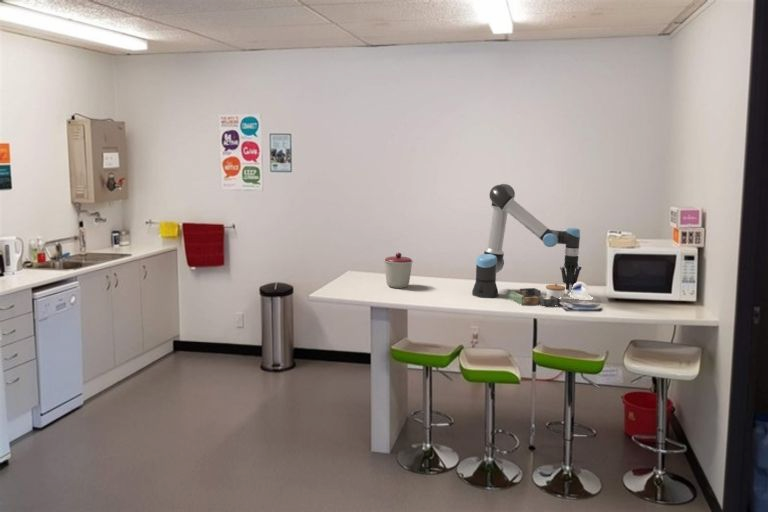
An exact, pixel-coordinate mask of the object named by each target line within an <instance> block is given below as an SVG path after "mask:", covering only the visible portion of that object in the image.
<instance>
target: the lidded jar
mask: <svg viewBox="0 0 768 512" xmlns="http://www.w3.org/2000/svg"><path fill="white" fill-rule="evenodd" d="M565 291H566V286H564V285H561V284H560V285H559V284H557V283H554V284H548V285H546V286H545V295H546V297H547V299H550V296H554V297H556V298H560V297H563V298H564V296H565Z"/></svg>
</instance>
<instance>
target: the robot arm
mask: <svg viewBox="0 0 768 512" xmlns="http://www.w3.org/2000/svg"><path fill="white" fill-rule="evenodd" d="M515 192H516V191H515V190H514V188H513V187H512V186H511V185H510V184H507V183H501V184H497V185H494V186H493V187H492V188H490V190H489V200H490V201H491V207H492V209H493V211H492V215H491V224H490V229H489V236H488V242H487V243H488V244H487V248H485V249H484V253H483V254H479V255H478V256H477V257H476V261H475V263H476V265H475V266H476V268H475V283H474V285H473V288H472V291H471V295H472V296H475V297H476V298H477V297H479V298H485V297H488V298H490V297H491V298H496V297H499V291H498V285H497V282H496V281H497V274H498V273H499V272H500V271H502V269H503V267H504V265H505V260H504V255H505V252H504V251H503V244H504V238H505V232H506V224H507V220H508V214H509V215H510V216H512V217H513V219H515V220H517V221H518V223H520V224H521V225H523V226H524V227H525V228H526V229H527V230H529V231H530V233H531V234H533V235H535V236H536V237H537V238H538V239H539V240H540V241H542V243H543V244H544V246H545V247H547V248H552V247H555V246H556V245H557V244H558V245H565V249H564V250H565V251H564V254H565V255H564V262H563V263H564V264H563V266H560V267H559V269H560V272H561V276H562V277H561V278H562V283H563V284H565V291H566V295H567V294H569V293H570V292H571V290H572V287H573V288H574V286H575V284H577V283H578V279H579V276H580V271H581V270H582V267H581V266H579V264H578V262H579V252H580V251H579V250H580V240H581V239H580V238H581V230H580V229H579V228H577V227H566V230H565V231H564V230H553V229H551V228H550V229H549V228H548V227H547V226H546V225H545V224H544V223H542V222H541V220H539V219H537V218H536V217H535V216H534V215H533V214H532V213H530V212H529V211H528V210H526V209H525V207H523V206H522V205H520V204H519V203H518V202H517V201H516V200H515V196H516V195H515V194H516V193H515ZM571 293H572V292H571Z"/></svg>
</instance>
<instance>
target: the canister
mask: <svg viewBox="0 0 768 512" xmlns="http://www.w3.org/2000/svg"><path fill="white" fill-rule="evenodd" d="M383 262H384V270H385V271H384V272H385V280H386V284H387V285H386V286H388V287H390V288H392V289H393V288H395V289H404V288H407V287H408V286H409V285H410V279H411V274H412V273H411V272H412V267H413V265H412V264H413V262H414V260H413V259H411V258H410V257H407V256H402V253H400V252H396V253H395V255H393V256H388V257H386V258H384V259H383Z"/></svg>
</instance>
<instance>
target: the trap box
mask: <svg viewBox="0 0 768 512" xmlns="http://www.w3.org/2000/svg"><path fill="white" fill-rule="evenodd" d="M541 294H542V293H541V290H540V289H538V288H535V287H530V288H529V287H528V288H519V290H515V291H514V290H512V289H508V290H507V299H508V298H509V300H510V299H511V300H510V301H512V300H513V302H514V301H515V303H516V302H517V304H518V303H519V305H520V304H521V306H526V305H525V304H535V305H539V304H540V305H539V306H541V305H542V306H541V307H543V306H551V307H556V306H555V305H559V306H560V302H561V300H560V299H559V298H556V297H554V296H550V299H549V298H544V297H542V296H541Z"/></svg>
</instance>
